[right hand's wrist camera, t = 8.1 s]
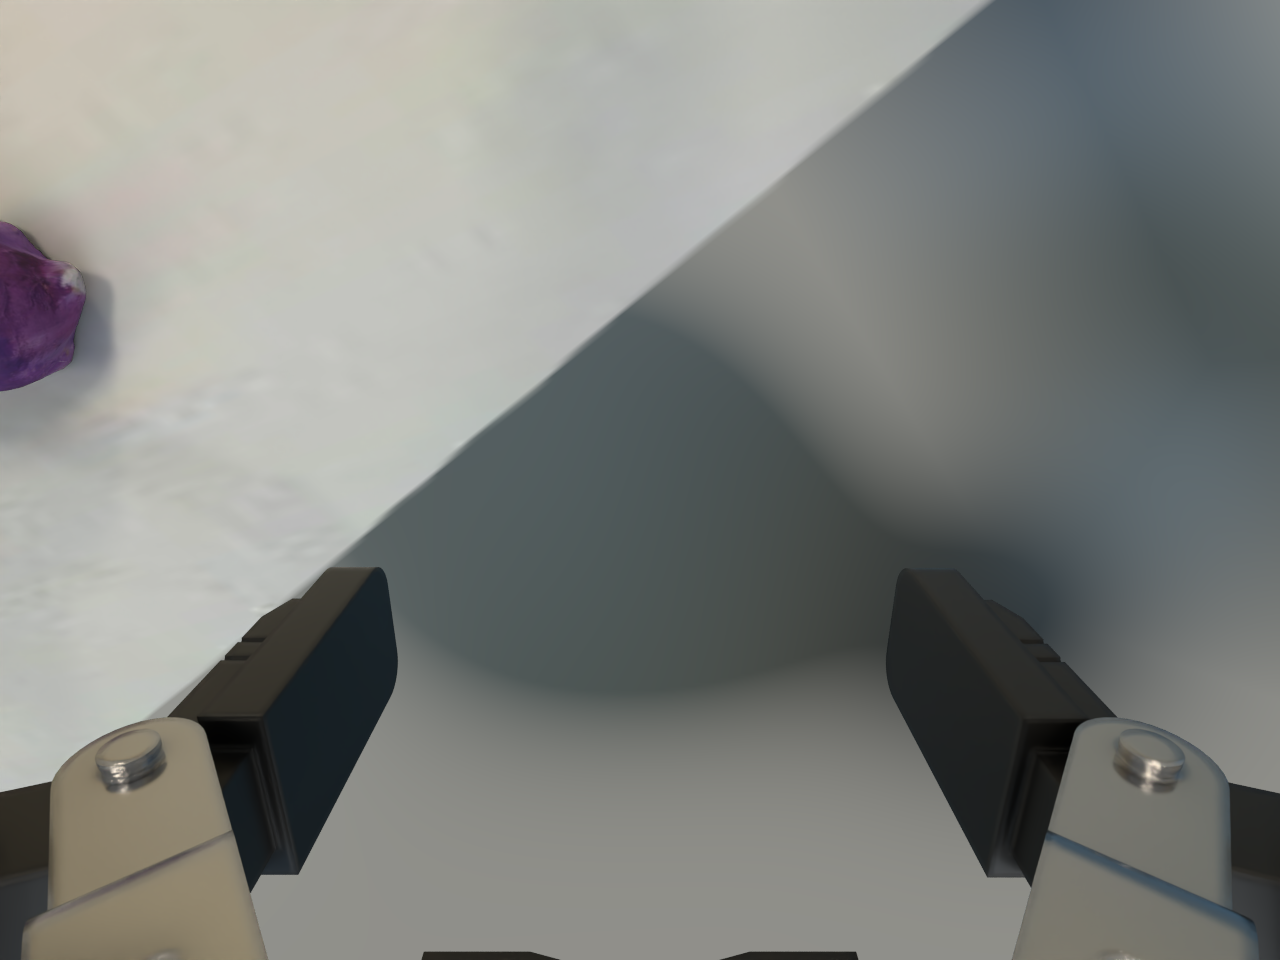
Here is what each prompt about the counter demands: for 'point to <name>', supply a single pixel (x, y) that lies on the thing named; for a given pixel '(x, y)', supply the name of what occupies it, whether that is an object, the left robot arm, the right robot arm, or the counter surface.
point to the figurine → (35, 311)
